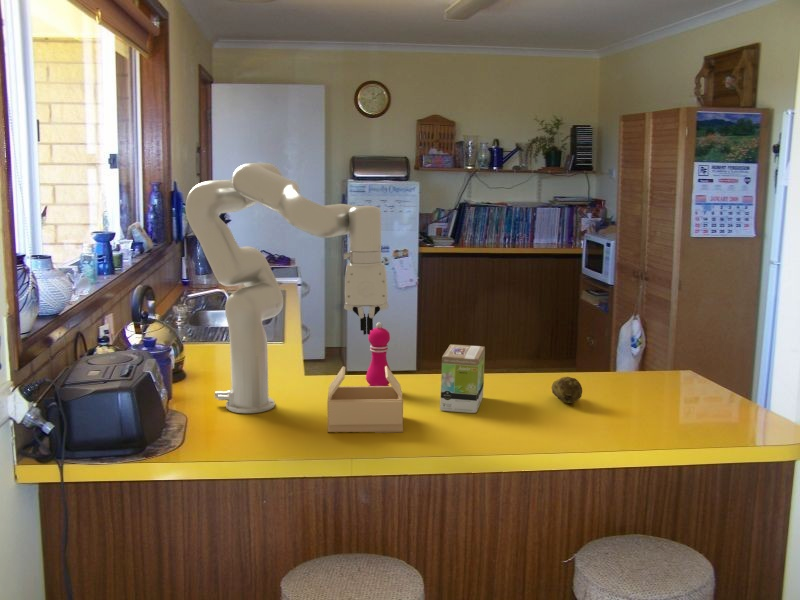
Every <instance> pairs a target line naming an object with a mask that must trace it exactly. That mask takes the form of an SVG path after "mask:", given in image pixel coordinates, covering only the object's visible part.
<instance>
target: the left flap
mask: <svg viewBox="0 0 800 600" xmlns="http://www.w3.org/2000/svg"><path fill="white" fill-rule="evenodd" d="M345 377H346V366H342V367H341V369H340V370H339V371H338V372H337V375H336V376H335V377H334V379H332V381H331V382H330V384H329V387H328V392H329V395H328V394H327V398H328V397H329V398H331V397H332V395H333V394H334V392H335V391H336V390H337V388H338V387H339V386H340V385H341V384H342V383H343V381H344V380H345Z"/></svg>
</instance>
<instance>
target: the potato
mask: <svg viewBox="0 0 800 600" xmlns="http://www.w3.org/2000/svg"><path fill="white" fill-rule="evenodd" d="M551 391H552V394H553V395H554V396H555V397H556V398H557V399H558V400H560V401H561V402H564V403H565V404H566V403H567V404H573V403H576V402H577V401H579V399H581V398H582V395H583V387H582V384H581V382H580V381H579V380H578V379H577V378H576V377H570V376H563V377H561V378H559V379H556V380H555V381H553V383H552V385H551Z"/></svg>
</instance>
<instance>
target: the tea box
mask: <svg viewBox="0 0 800 600" xmlns="http://www.w3.org/2000/svg"><path fill="white" fill-rule="evenodd" d="M485 355H486V347H485V346H482V345H481V346H480V345H468V344H466V345H465V344H449V346H448V348H447V349H446V350H445V352H444V353H443V355H442V357H441V377H440V381H441V384H440V400H439V403H440V404H439V411H444V412H453V413H454V412H456V413H468V414H469V413H470V414H476V413H477V412H478V410H479V407H480V404H481V403H482V400H483V398H484V384H485V383H484V382H485V380H484V379H485V361H486V360H485V358H486V356H485Z"/></svg>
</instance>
